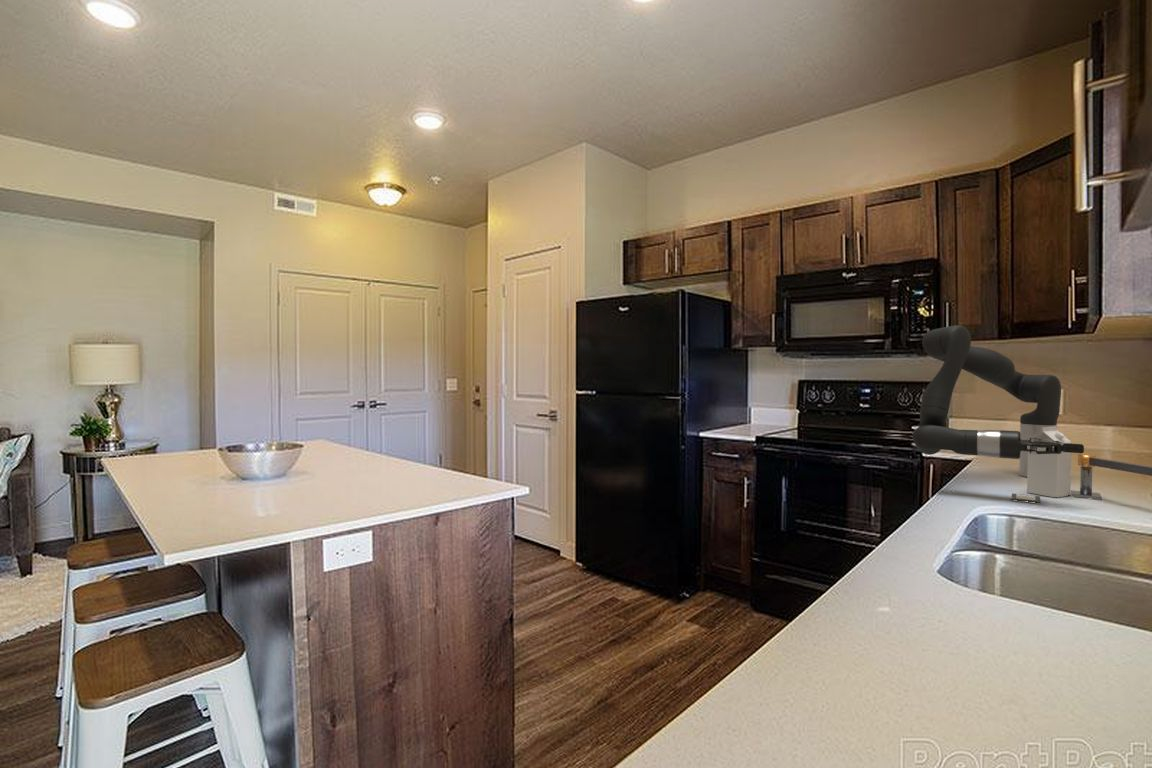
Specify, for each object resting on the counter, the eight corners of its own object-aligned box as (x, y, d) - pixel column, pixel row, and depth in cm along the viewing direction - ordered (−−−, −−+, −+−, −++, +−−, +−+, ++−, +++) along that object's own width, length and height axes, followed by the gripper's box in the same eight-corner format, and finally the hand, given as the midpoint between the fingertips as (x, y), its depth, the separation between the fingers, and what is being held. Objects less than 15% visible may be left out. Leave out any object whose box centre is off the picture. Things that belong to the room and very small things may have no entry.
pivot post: (1070, 493, 160) (1071, 464, 159) (1099, 496, 156) (1100, 466, 156) (1072, 496, 155) (1072, 467, 155) (1101, 499, 151) (1102, 469, 151)
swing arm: (1074, 464, 157) (1074, 454, 157) (1086, 464, 157) (1086, 454, 157) (1181, 483, 131) (1181, 471, 131) (1195, 483, 131) (1195, 471, 131)
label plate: (1011, 495, 157) (1011, 492, 157) (1039, 498, 153) (1039, 495, 153) (1011, 500, 150) (1011, 498, 150) (1040, 504, 147) (1040, 501, 147)
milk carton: (1026, 493, 160) (1028, 426, 159) (1040, 490, 163) (1042, 425, 162) (1056, 498, 153) (1058, 428, 153) (1070, 495, 156) (1072, 427, 156)
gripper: (997, 432, 148) (1086, 437, 138) (999, 427, 159) (1081, 431, 148) (997, 461, 149) (1085, 467, 138) (999, 454, 159) (1081, 459, 148)
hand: (1083, 448), depth 143 cm, fingers closed
